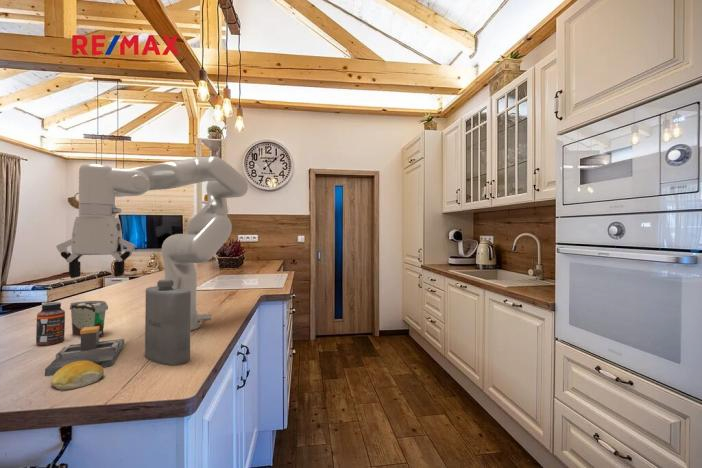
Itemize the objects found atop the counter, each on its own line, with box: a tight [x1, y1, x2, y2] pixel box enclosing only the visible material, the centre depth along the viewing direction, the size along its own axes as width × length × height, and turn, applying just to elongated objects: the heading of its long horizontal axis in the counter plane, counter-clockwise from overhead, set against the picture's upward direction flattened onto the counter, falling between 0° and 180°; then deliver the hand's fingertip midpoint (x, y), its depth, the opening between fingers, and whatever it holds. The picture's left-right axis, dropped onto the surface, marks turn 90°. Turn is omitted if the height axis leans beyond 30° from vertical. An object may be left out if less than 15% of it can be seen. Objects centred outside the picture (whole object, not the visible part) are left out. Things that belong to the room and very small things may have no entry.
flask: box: [144, 278, 191, 366], centre depth 81 cm, size 15×6×20 cm, turn 60°
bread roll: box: [50, 360, 105, 391], centre depth 68 cm, size 8×9×4 cm
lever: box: [80, 326, 100, 350], centre depth 80 cm, size 3×3×6 cm
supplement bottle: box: [35, 301, 66, 346], centre depth 91 cm, size 6×6×11 cm
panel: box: [44, 338, 125, 377], centre depth 80 cm, size 12×17×3 cm
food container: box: [69, 300, 109, 338], centre depth 99 cm, size 12×6×10 cm, turn 71°
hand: (97, 276), depth 83 cm, fingers open, 9 cm apart
